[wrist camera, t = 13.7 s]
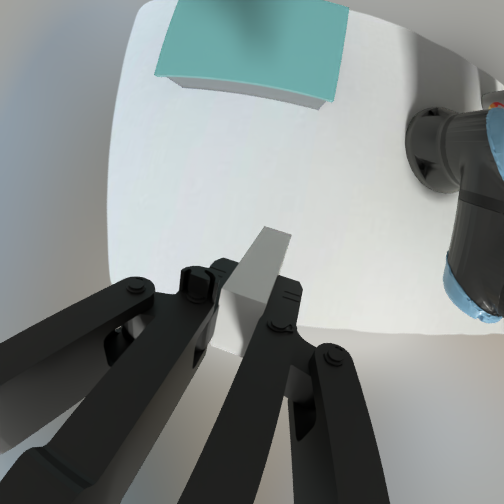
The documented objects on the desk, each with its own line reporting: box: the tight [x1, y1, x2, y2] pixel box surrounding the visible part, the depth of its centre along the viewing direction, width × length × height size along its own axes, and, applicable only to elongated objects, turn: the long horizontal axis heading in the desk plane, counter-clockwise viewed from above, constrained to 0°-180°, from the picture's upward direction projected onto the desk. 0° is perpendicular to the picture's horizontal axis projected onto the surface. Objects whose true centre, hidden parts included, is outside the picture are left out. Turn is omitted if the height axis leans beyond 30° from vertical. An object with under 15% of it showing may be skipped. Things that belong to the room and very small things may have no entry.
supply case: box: [167, 77, 326, 110], centre depth 31 cm, size 22×14×9 cm, turn 78°
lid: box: [154, 0, 349, 102], centre depth 27 cm, size 23×16×3 cm
